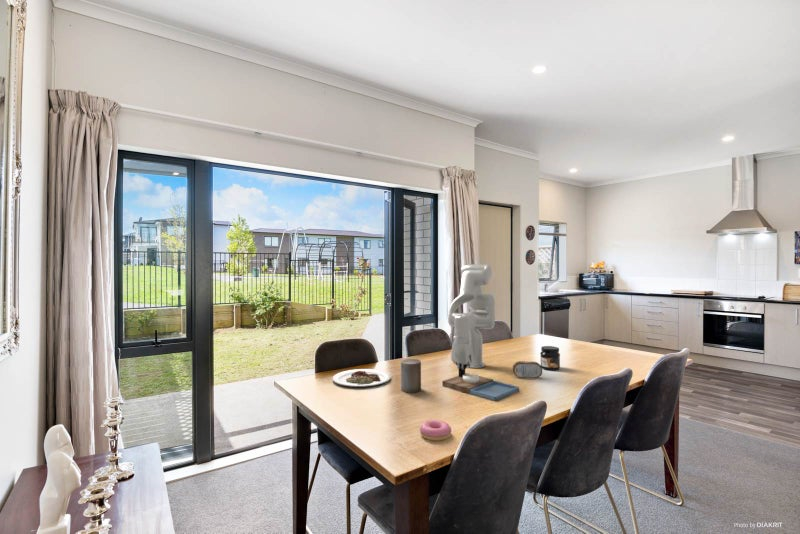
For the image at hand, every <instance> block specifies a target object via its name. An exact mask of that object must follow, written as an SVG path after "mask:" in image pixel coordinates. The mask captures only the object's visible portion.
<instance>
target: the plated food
mask: <svg viewBox="0 0 800 534" xmlns="http://www.w3.org/2000/svg"><path fill="white" fill-rule="evenodd" d="M389 380H391V374H390V373H389V372H387V371H384V370H379V369H373V368H371V369H370V368H359V369H357V368H355V369H349V370H345V371H340V372H338V373H336V374H334V375H333V377H332V381H333V382H334V383H335V384H338V385H341V386H346V387H353V388H361V387H362V388H365V387H366V388H367V387H372V386H373V387H374V386H377V385H382V384H384V383H387V382H388V381H389Z"/></svg>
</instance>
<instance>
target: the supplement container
mask: <svg viewBox="0 0 800 534" xmlns="http://www.w3.org/2000/svg"><path fill="white" fill-rule="evenodd" d="M540 349H541V350H540V353H539V355H540V366H541V367H542V370H545V371H553V372H554V371H559V370H560V369H561V361H560V360H561V353H560V347H558V346H553V345H544V346H541V348H540Z"/></svg>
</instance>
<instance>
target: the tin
mask: <svg viewBox="0 0 800 534" xmlns="http://www.w3.org/2000/svg"><path fill="white" fill-rule="evenodd" d="M540 365H541V363H538V362H537V361H525V360H524V361H523V360H521V361H517V362H515V363H514V364H513V365H512V372H513V374H514V376H515V377H516V378H520V379H537V378H540V377H541V376H542V375H543V369H542V367H541V366H540Z"/></svg>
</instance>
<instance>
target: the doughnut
mask: <svg viewBox="0 0 800 534" xmlns="http://www.w3.org/2000/svg"><path fill="white" fill-rule="evenodd" d="M419 432H420V434H421V436H422V437H423V438H424V439H426V440H429V441H433V442H434V441H435V442H439V441H445V440H447V439H448V438H450V436H451V433H452V427H451V426H450V425H449V423H447V422H445V421H443V420H439V419H436V420H435V419H431V420H427V421H424V422H423V423H422V424H421V425H420V427H419Z"/></svg>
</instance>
